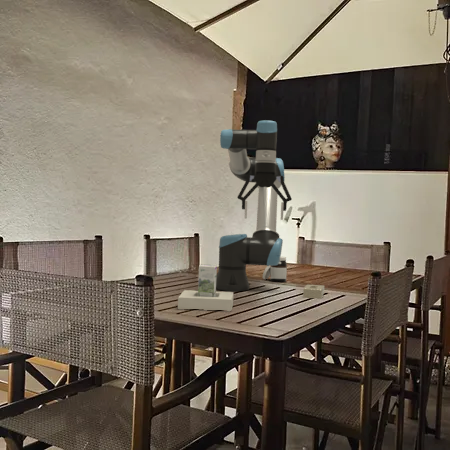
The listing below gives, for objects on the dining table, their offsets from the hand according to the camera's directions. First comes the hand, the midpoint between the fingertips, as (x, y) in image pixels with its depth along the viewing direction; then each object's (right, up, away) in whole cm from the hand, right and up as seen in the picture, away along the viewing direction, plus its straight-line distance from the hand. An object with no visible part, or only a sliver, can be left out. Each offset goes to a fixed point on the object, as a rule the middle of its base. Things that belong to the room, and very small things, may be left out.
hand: (263, 219), depth 205 cm
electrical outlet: (+22, -31, +19) cm, 43 cm away
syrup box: (-21, -31, -15) cm, 40 cm away
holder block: (-21, -31, -14) cm, 40 cm away
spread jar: (+9, -29, +57) cm, 65 cm away
